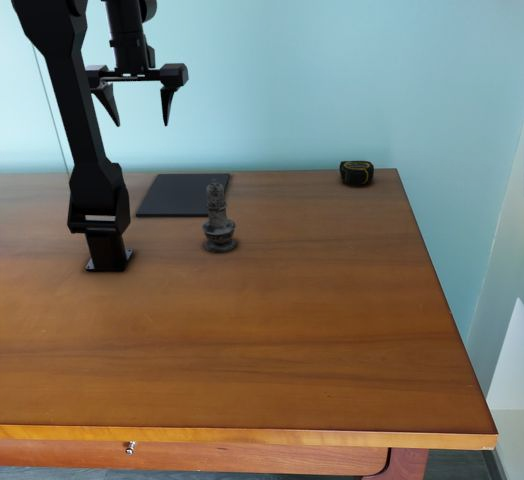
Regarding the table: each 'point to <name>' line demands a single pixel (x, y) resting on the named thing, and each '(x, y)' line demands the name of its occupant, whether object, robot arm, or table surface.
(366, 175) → the tape measure
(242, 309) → the table surface
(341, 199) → the table surface
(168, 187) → the mat
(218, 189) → the salt shaker
